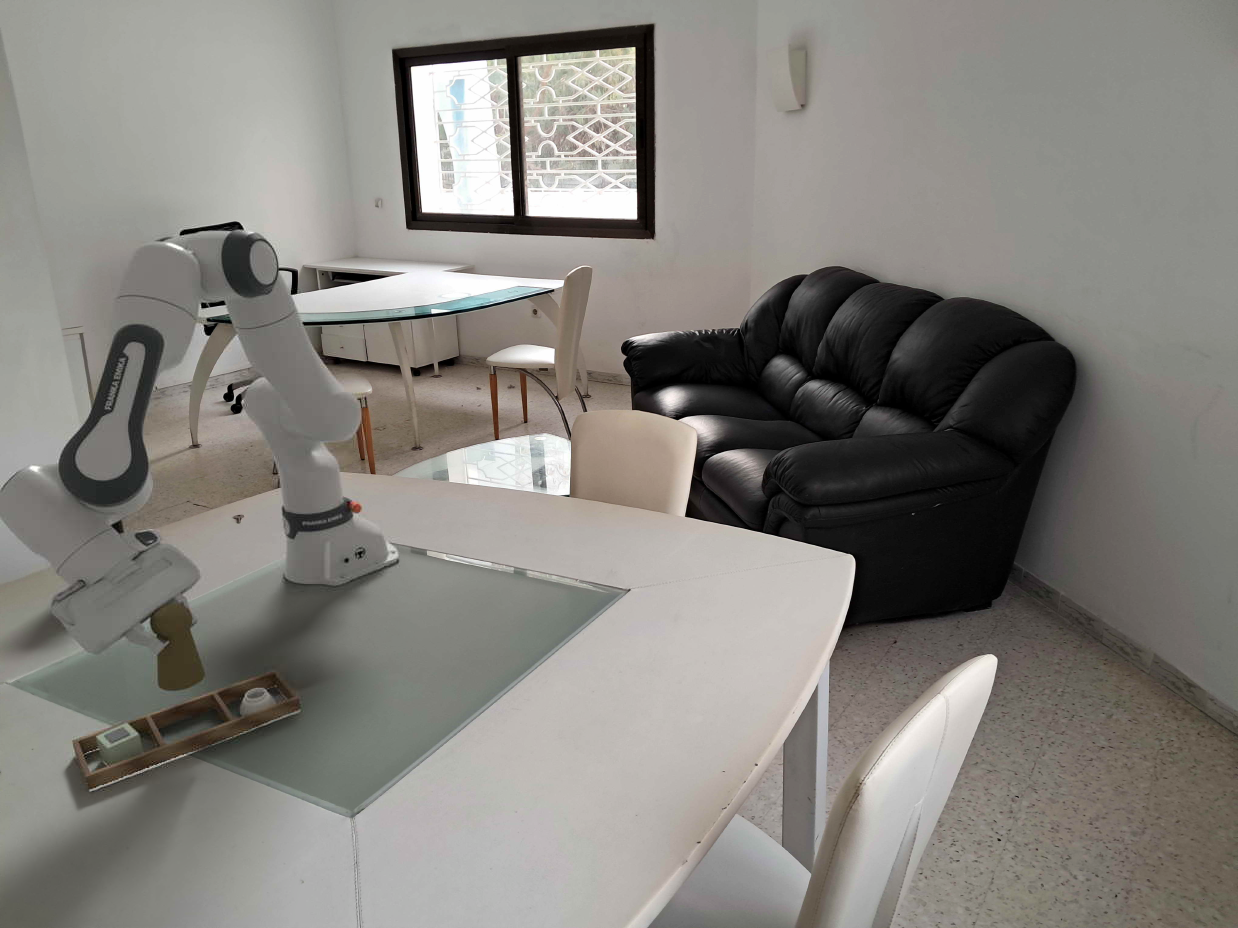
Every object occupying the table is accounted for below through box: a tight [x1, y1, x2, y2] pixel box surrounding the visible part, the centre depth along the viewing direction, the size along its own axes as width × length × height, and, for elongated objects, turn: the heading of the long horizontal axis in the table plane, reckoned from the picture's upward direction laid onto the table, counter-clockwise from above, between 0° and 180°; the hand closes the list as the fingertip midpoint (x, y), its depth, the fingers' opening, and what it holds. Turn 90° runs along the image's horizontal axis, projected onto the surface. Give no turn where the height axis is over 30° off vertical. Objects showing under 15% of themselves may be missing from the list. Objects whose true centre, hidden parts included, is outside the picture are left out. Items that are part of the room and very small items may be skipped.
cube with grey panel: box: [96, 723, 144, 766], centre depth 120 cm, size 4×4×4 cm
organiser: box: [72, 669, 302, 791], centre depth 125 cm, size 28×10×2 cm, turn 130°
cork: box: [149, 604, 206, 692], centre depth 121 cm, size 6×6×11 cm
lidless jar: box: [238, 688, 277, 717], centre depth 131 cm, size 5×3×5 cm
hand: (178, 637), depth 120 cm, fingers closed on cork, 5 cm apart
